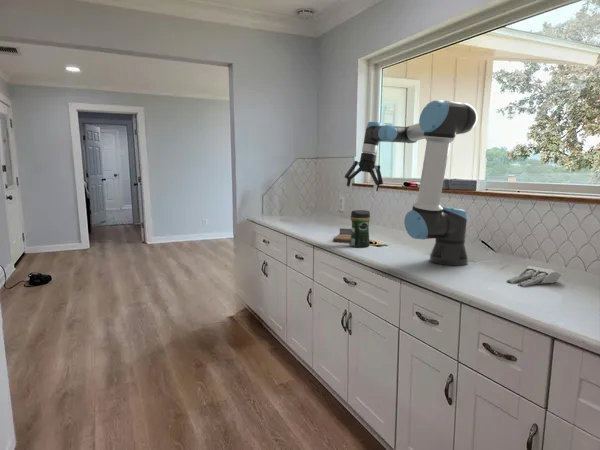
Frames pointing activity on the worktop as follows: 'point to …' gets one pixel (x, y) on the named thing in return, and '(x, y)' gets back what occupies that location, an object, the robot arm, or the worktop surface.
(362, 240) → the coffee jar
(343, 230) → the brown piece
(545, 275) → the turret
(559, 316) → the worktop surface
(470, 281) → the worktop surface
